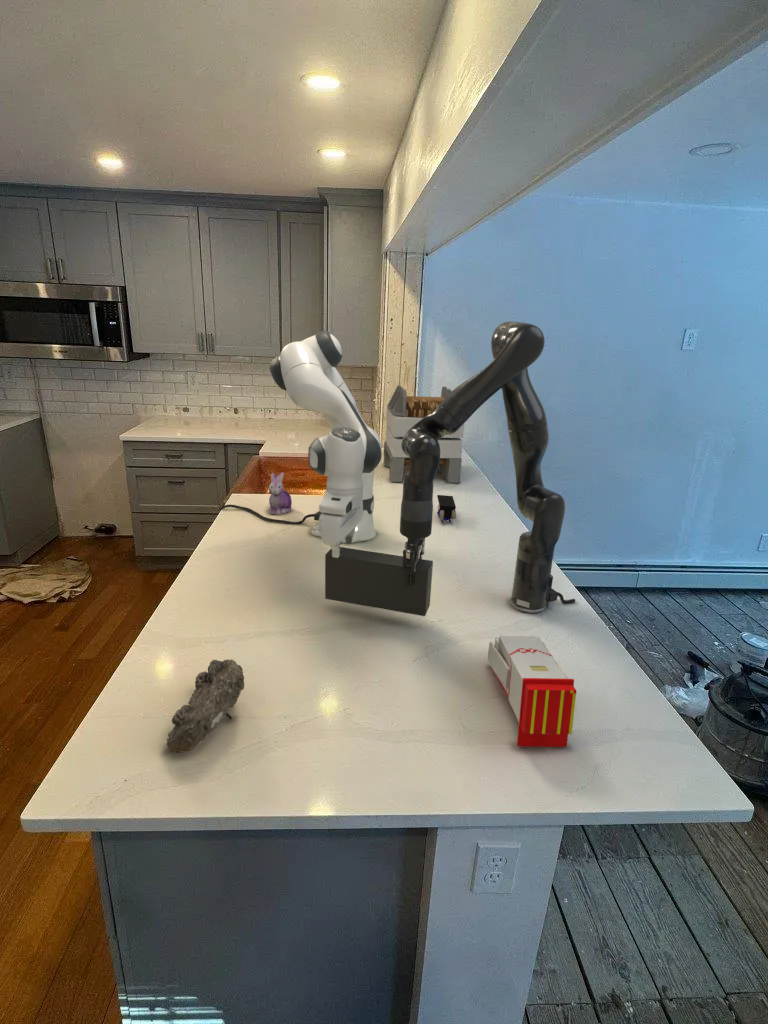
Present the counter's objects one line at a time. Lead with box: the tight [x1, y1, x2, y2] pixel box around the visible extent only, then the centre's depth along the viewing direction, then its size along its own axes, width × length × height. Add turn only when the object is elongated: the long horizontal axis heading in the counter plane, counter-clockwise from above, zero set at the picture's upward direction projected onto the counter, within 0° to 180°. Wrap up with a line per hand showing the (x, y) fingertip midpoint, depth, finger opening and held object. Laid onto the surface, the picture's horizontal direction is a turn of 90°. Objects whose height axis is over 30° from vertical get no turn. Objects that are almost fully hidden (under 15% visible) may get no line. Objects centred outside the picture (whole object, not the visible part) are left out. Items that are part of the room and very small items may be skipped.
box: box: [324, 546, 434, 617], centre depth 142 cm, size 26×6×12 cm, turn 74°
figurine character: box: [436, 494, 457, 524], centre depth 215 cm, size 7×8×15 cm
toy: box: [486, 635, 577, 748], centre depth 115 cm, size 12×13×30 cm
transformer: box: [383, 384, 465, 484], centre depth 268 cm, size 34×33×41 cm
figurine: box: [268, 471, 293, 515], centre depth 214 cm, size 9×10×15 cm
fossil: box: [166, 658, 245, 754], centre depth 106 cm, size 22×10×15 cm
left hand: (343, 549), depth 142 cm, fingers open, 8 cm apart
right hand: (412, 579), depth 139 cm, fingers closed on box, 5 cm apart
